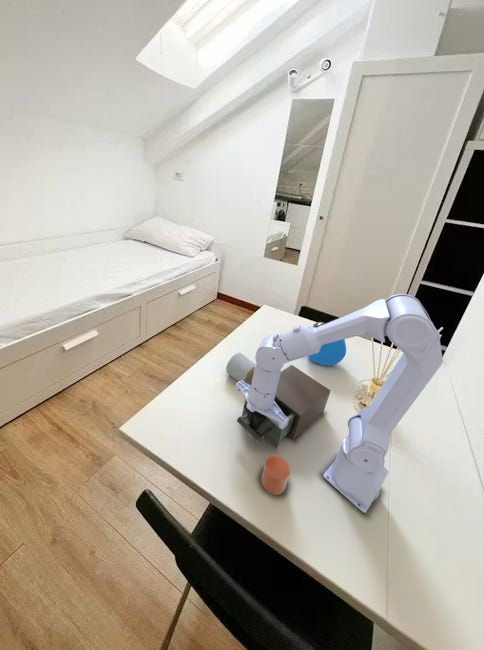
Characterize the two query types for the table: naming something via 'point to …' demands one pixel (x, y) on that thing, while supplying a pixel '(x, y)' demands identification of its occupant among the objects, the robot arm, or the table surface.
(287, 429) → the drawer
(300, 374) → the cabinet
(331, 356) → the alarm clock
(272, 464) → the orange cylinder canister
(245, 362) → the ceramic mug
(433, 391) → the table surface
